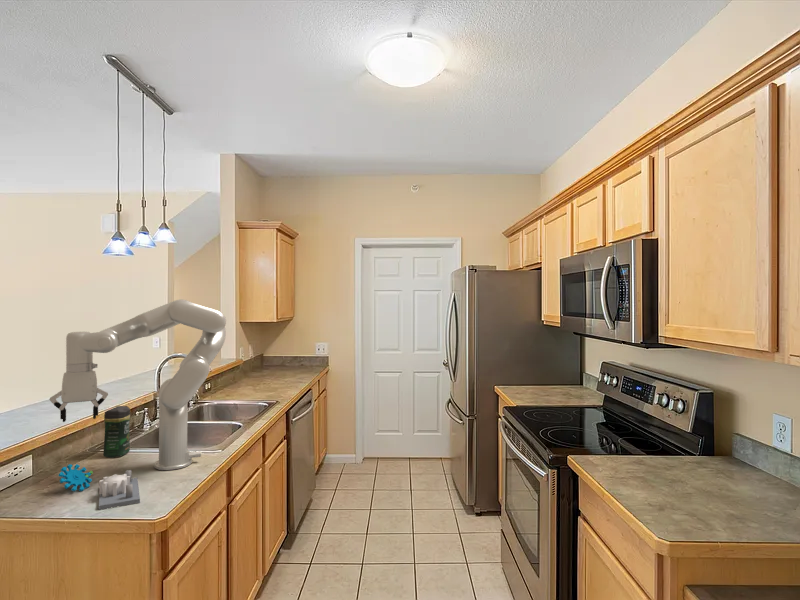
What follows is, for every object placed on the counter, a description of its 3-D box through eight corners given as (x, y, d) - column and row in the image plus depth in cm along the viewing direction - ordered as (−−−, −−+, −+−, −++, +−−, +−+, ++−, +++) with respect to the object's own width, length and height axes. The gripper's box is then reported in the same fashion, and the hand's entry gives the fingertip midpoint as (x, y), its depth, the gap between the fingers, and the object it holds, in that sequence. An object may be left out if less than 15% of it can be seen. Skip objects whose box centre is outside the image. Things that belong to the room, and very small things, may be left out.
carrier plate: (137, 481, 165) (137, 465, 165) (139, 502, 148) (139, 485, 148) (100, 487, 160) (100, 470, 160) (98, 510, 142) (98, 492, 142)
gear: (68, 492, 151) (55, 465, 155) (57, 504, 152) (44, 477, 156) (101, 484, 162) (88, 459, 165) (90, 495, 163) (77, 471, 166)
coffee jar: (122, 458, 188) (122, 409, 188) (100, 458, 188) (100, 410, 188) (133, 450, 198) (133, 404, 198) (112, 450, 197) (112, 404, 197)
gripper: (109, 365, 175) (109, 414, 175) (49, 368, 167) (49, 420, 167) (109, 367, 169) (109, 418, 169) (46, 371, 160) (47, 425, 160)
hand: (79, 419), depth 168 cm, fingers open, 8 cm apart
